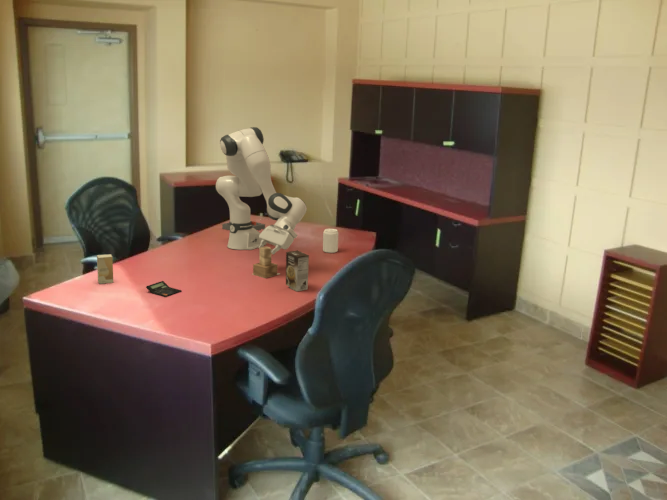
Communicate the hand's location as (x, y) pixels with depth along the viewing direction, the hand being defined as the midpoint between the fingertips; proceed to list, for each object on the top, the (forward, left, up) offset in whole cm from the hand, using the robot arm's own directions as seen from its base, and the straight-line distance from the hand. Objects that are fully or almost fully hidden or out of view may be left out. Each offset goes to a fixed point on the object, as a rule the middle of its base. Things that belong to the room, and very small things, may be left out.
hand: (265, 251), depth 295 cm
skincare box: (+56, -44, -12) cm, 73 cm away
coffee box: (+2, +22, -12) cm, 25 cm away
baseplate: (-1, 0, -12) cm, 12 cm away
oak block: (0, 0, -6) cm, 6 cm away
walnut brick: (0, 0, -11) cm, 11 cm away
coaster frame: (-58, -78, -12) cm, 98 cm away
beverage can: (-56, -7, -12) cm, 57 cm away
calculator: (+46, -15, -13) cm, 50 cm away
